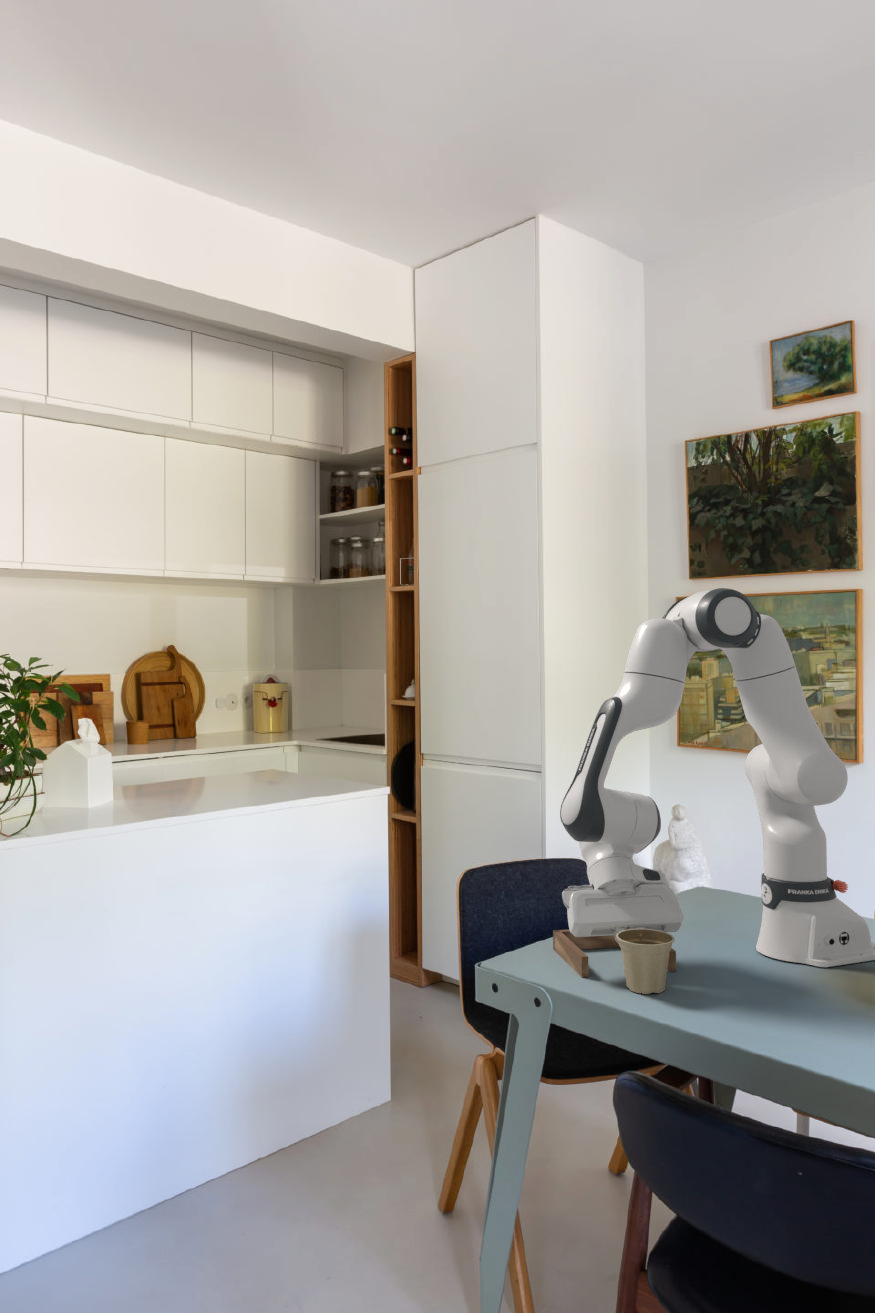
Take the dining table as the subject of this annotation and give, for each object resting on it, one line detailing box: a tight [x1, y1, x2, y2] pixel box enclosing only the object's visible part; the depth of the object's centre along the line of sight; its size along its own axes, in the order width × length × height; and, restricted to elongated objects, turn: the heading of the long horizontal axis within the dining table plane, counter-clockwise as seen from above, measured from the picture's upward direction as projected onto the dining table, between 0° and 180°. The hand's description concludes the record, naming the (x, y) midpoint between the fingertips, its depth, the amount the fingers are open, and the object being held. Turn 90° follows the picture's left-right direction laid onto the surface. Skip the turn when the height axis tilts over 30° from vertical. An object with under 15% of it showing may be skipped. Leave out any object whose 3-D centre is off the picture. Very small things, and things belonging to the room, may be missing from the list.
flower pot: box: [616, 929, 675, 995], centre depth 153 cm, size 9×9×9 cm
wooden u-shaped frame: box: [552, 929, 677, 978], centre depth 169 cm, size 17×17×4 cm
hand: (635, 955), depth 157 cm, fingers closed, pressing on flower pot
